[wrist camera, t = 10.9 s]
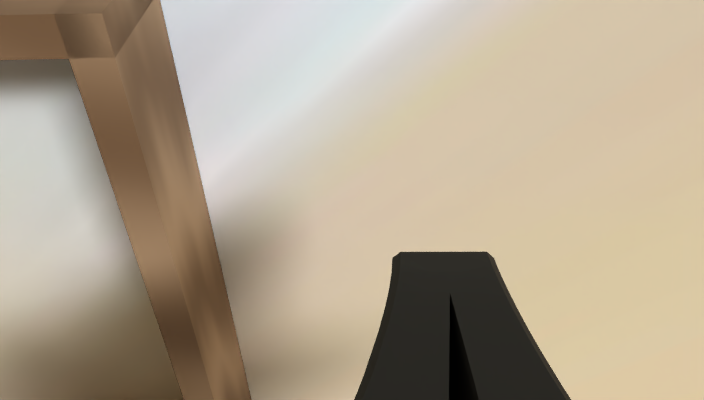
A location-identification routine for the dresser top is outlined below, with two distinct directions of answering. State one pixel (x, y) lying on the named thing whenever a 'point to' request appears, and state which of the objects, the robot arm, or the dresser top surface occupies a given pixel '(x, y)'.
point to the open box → (145, 170)
